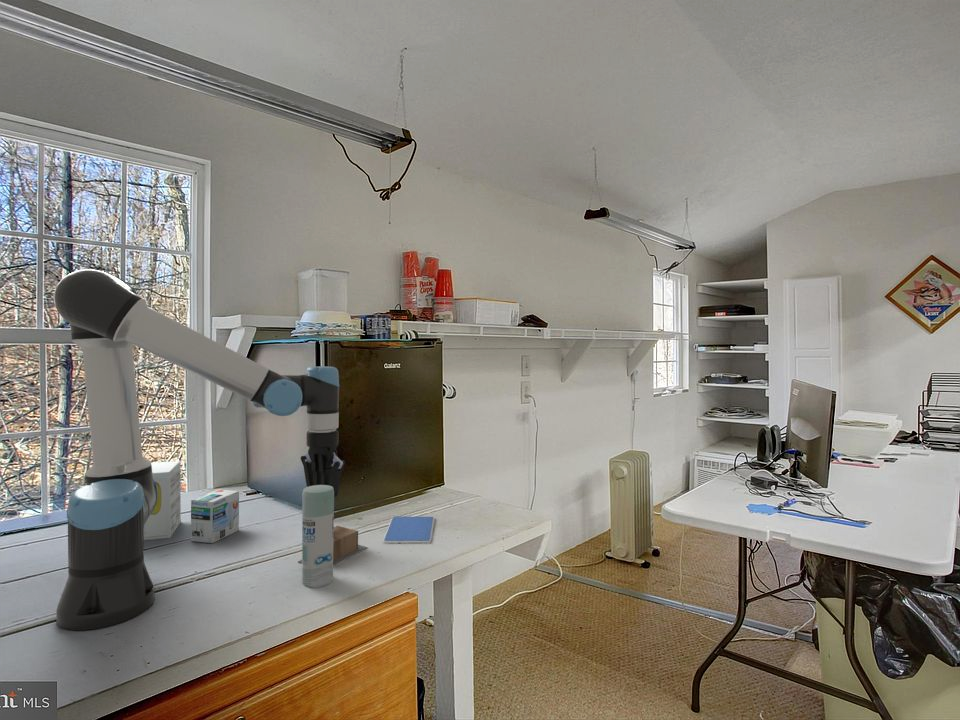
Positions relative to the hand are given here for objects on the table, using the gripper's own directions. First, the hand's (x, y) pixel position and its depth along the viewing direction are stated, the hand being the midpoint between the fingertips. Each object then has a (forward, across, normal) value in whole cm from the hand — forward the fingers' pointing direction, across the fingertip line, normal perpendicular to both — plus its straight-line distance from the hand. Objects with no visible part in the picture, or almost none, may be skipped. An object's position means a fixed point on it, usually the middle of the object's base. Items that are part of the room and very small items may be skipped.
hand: (322, 525), depth 128 cm
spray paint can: (+7, -11, +12) cm, 18 cm away
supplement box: (+7, +48, +15) cm, 51 cm away
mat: (+6, -4, 0) cm, 8 cm away
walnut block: (+4, -3, +6) cm, 8 cm away
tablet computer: (+7, -10, -23) cm, 26 cm away
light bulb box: (+7, +32, +7) cm, 33 cm away
